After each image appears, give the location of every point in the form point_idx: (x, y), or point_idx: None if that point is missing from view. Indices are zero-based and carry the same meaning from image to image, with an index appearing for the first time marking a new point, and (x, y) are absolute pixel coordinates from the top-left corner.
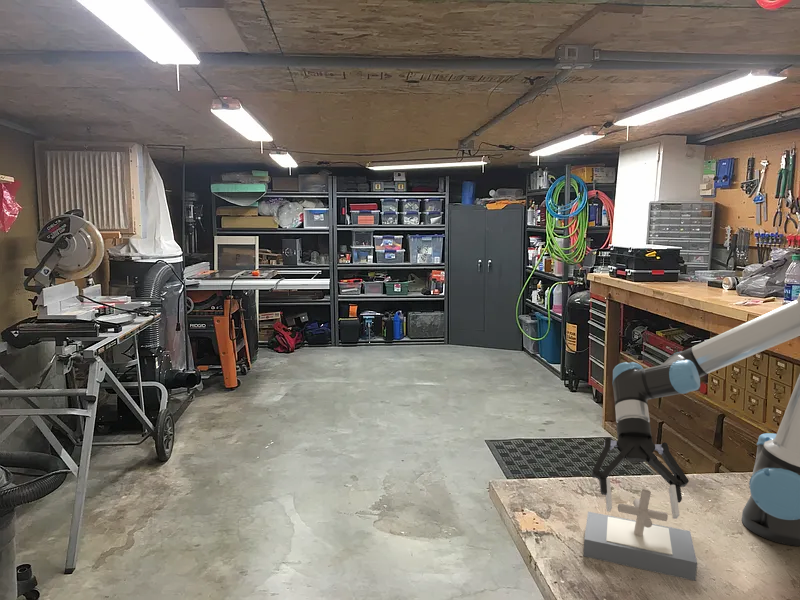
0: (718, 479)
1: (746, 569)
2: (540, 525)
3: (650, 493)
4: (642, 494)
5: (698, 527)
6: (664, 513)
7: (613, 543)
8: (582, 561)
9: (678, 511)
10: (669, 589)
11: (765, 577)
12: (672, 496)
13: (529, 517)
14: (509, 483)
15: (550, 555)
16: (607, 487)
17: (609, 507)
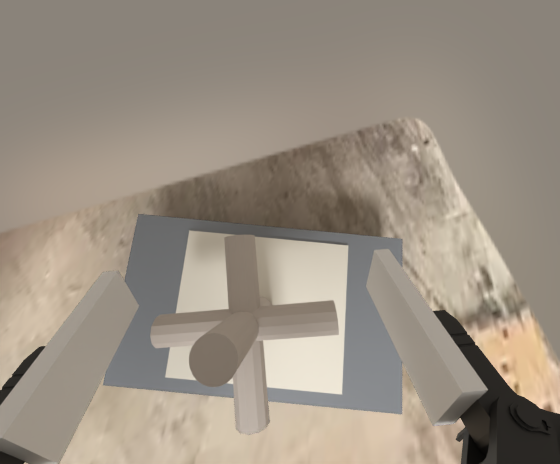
0: None
1: (31, 304)
2: (493, 355)
3: (192, 349)
4: (239, 337)
5: None
6: (161, 328)
7: (330, 241)
8: (382, 224)
9: (97, 281)
10: (220, 180)
11: (3, 283)
12: (71, 358)
13: (529, 391)
14: None
15: (448, 226)
16: (440, 324)
17: (384, 249)
